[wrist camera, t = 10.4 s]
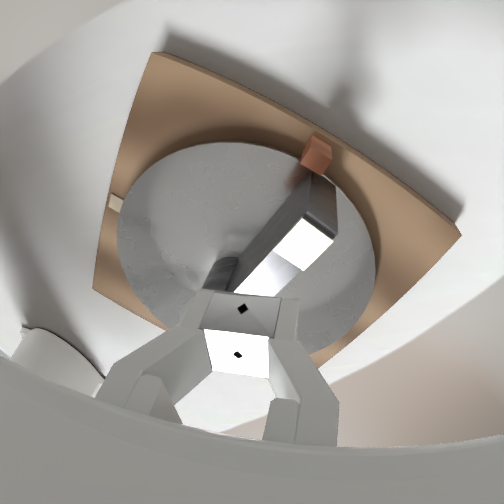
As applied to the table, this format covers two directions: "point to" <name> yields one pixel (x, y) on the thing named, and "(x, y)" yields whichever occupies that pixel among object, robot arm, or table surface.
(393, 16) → the table surface
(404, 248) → the dial plate
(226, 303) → the robot arm
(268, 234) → the dial
